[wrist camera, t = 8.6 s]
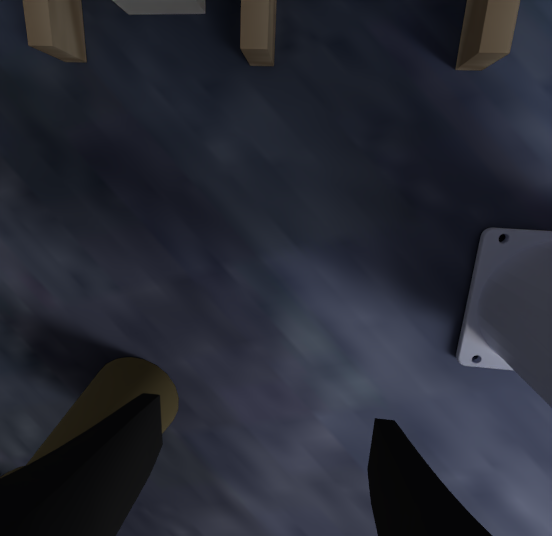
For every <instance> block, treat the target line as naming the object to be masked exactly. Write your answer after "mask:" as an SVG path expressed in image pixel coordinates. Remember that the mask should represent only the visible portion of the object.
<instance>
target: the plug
mask: <svg viewBox="0 0 552 536" xmlns="http://www.w3.org/2000/svg"><path fill="white" fill-rule="evenodd" d="M112 1H113V2H115V3H116V4H117V5H118V6H119V7H120V8H122V9H123V10H124V11H125V12H126V13H128V14H129V15H137V14H205V0H112Z"/></svg>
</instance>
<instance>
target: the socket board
mask: <svg viewBox="0 0 552 536" xmlns="http://www.w3.org/2000/svg"><path fill="white" fill-rule="evenodd" d="M519 4H520V0H467V3H466V9H465V15H464V21H463V27H462V33H461V39H460V45H459V51H458V57H457V63H456V69H455V70H483V69H485V68H486V67H488V66H490V65H491V64H493V63H494V62H496V61H498V60H499V59H501V58H503V57H504V56H506V55H507V54H509V53H510V49H511V44H512V39H513V34H514V29H515V24H516V19H517V14H518V9H519ZM23 7H24V15H25V22H26V30H27V38H28V45H29V46H31V47H33V48H35V49H38V50H40V51H42V52H44V53H47V54H49V55H51V56H53V57H56V58H58V59H60V60H62V61H65V62H87V59H86V48H85V37H84V26H83V15H82V4H81V0H23ZM275 25H276V0H241V34H240V49H241V51H242V53H243V54H244V56H245V58H246V59H247V61H248V63H249V64H250V66H274V50H275Z"/></svg>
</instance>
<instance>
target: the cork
mask: <svg viewBox="0 0 552 536" xmlns="http://www.w3.org/2000/svg"><path fill="white" fill-rule="evenodd" d="M142 393H149V394H158V395H160V404H161V423H162V433H163V432H164V431H165V430H166V428H167V427H168V426H169V425H170V424H171V422H172V421H173V420H174V418H175V415H176V413H177V411H178V399H179V398H178V394H177V391H176V388H175V385H174V384H173V382H172V381H171V379H170V378H169V376H168V375H167V374H166V373H165V372H164V371H162V370H161V369H160V368H159V367H158V366H157V365H155V364H152V363H150V362H148V361H146V360H144V359H139V358H133V357H125V358H118V359H115V360H113V361H111V362H109V363H107V364H106V365H105V366H104V367H103V368H102V369H101V370H100V371H99V372H98V374H97V375H96V376H95V378H94V379H93V380H92V381H91V383H90V384H89V385H88V387H87V388H86V389H85V390H84V392H83V393H82V394H81V396H80V397H79V398H78V399H77V401H76V402H75V403H74V404H73V406H72V407H71V408H70V410H69V411H68V412H67V413H66V415H65V416H64V417H63V419H62V420H61V421H60V422H59V424H58V425H57V426H56V428H55V429H54V430H53V431H52V433H51V434H50V435H49V437H48V438H47V439H46V440H45V442H44V443H43V444H42V445H41V447H40V448H39V449H38V451H37V452H36V453H35V454H34V456H33V457H32V458H31V460H30V461H29V462H28V463H27V465H28V464H30V463H32V462H34V461H36V460H38V459H39V458H41V457H43V456H45V455H47V454H48V453H50V452H52V451H54V450H55V449H57V448H59V447H60V446H62V445H64V444H65V443H67V442H68V441H70V440H72V439H73V438H75V437H77V436H78V435H80V434H81V433H83V432H85V431H86V430H88V429H89V428H91V427H92V426H94V425H96V424H97V423H99V422H100V421H102V420H103V419H105V418H106V417H108V416H109V415H111V414H112V413H113V412H115V411H116V410H118V409H119V408H121V407H122V406H124V405H125V404H127V403H128V402H130V401H131V400H133V399H134V398H136V397H137V396H139V395H140V394H142ZM22 467H24V466H22ZM22 467H19V468H16V469H14V470H12V471H10V472H8V473H6V474H4V475H3V476H1V477H0V478H2V477H4V476H6V475H9V474H11V473H13V472H15V471H17V470H19V469H20V468H22Z"/></svg>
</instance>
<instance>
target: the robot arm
mask: <svg viewBox="0 0 552 536" xmlns="http://www.w3.org/2000/svg"><path fill="white" fill-rule="evenodd" d="M502 234H505V239H504V241H502V242H499V239H498V238H499V236H500V235H502ZM475 355H478V358H477V359H475V360H472V357H473V356H475ZM456 358H457V360H458V362H459V363H460V364H462V365H464V366H472V367H483V368H493V369H504V370H514V371H515V372H516V373H517V374H518V375H519V376H520V377H521V378H522V379H523V380H524V381H525V382H526V383H527V384H528V385H529V386H530V387H531V388H532V389H533V390H534V391H535V392H536V393H537V394H538V395H539V396H540V397H541V398H542V399H544V400H545V401H546V402H547V403H548V404H549V405H550V406H551V407H552V231H543V230H527V229H510V228H493V227H492V228H488V229H486V230H484V231H483V232H482V234H481V237H480V242H479V246H478V251H477V256H476V261H475V266H474V270H473V275H472V280H471V285H470V290H469V294H468V299H467V304H466V309H465V314H464V319H463V323H462V328H461V333H460V338H459V343H458V347H457V352H456ZM162 445H163V443H162V423H161V404H160V395H158V394H149V393H142V394H140V395H139V396H137V397H136V398H134V399H133V400H131V401H130V402H128V403H127V404H125V405H124V406H122V407H121V408H119V409H118V410H116V411H115V412H113V413H112V414H111V415H109V416H108V417H106V418H105V419H103V420H102V421H100V422H99V423H97V424H96V425H94V426H92V427H91V428H89V429H88V430H86V431H85V432H83V433H81V434H80V435H78V436H77V437H75V438H73V439H72V440H70V441H68V442H67V443H65V444H64V445H62V446H60V447H59V448H57V449H55V450H54V451H52V452H50V453H48V454H47V455H45V456H43V457H41V458H39V459H38V460H36V461H34V462H32V463H30V464H28V465H26V466H24V467H22V468H20V469H19V470H17V471H15V472H13V473H11V474H9V475H6V476H4V477H2V478H0V536H116V534H117V532H118V531H119V529H120V527H121V525H122V524H123V522H124V520H125V518H126V517H127V515H128V513H129V511H130V510H131V508H132V506H133V504H134V502H135V501H136V499H137V497H138V495H139V494H140V492H141V490H142V488H143V486H144V485H145V483H146V481H147V479H148V477H149V475H150V473H151V471H152V469H153V466H154V464H155V462H156V459H157V457H158V455H159V452H160V450H161V447H162ZM368 479H369V489H370V497H371V505H372V510H373V514H374V519H375V524H376V528H377V533H378V536H492V535H491V534H490V533H489V532H488V531H487V530H486V529H485V528H484V527H483V526H482V525H481V524H480V523H479V522H478V521H477V520H476V519H475V518H474V517H473V516H472V515H471V514H470V513H469V512H468V511H467V510H466V509H465V508H464V507H463V506H462V504H461V503H460V502H459V501H458V500H457V499H456V498H455V497H454V495H453V494H452V493H451V492H450V491H449V490H448V489H447V487H446V486H445V485H444V484H443V483H442V481H441V480H440V479H439V478H438V477H437V475H436V474H435V473H434V472H433V470H432V469H431V468H430V467H429V465H428V464H427V463H426V462H425V460H424V459H423V458H422V457H421V455H420V454H419V453H418V451H417V450H416V449H415V447H414V446H413V445H412V443H411V442H410V441H409V439H408V438H407V437H406V435H405V434H404V432H403V431H402V430H401V428H400V427H399V426H398V424H397V423H396V422H395V421H394V420H386V419H377V418H375V422H374V429H373V435H372V442H371V449H370V456H369V463H368Z"/></svg>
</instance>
